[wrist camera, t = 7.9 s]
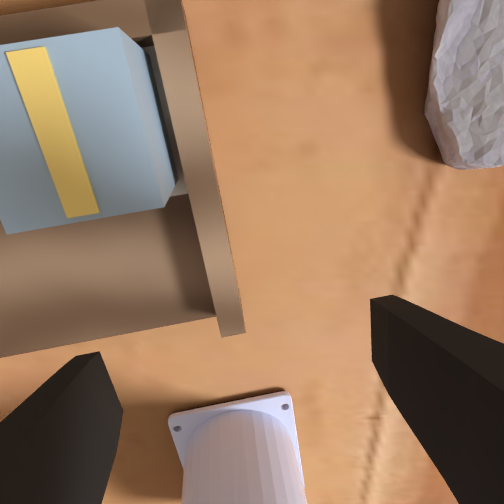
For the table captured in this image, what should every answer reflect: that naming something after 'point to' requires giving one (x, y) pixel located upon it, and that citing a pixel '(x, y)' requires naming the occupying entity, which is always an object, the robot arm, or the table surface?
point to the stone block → (468, 83)
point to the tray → (127, 225)
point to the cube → (80, 131)
